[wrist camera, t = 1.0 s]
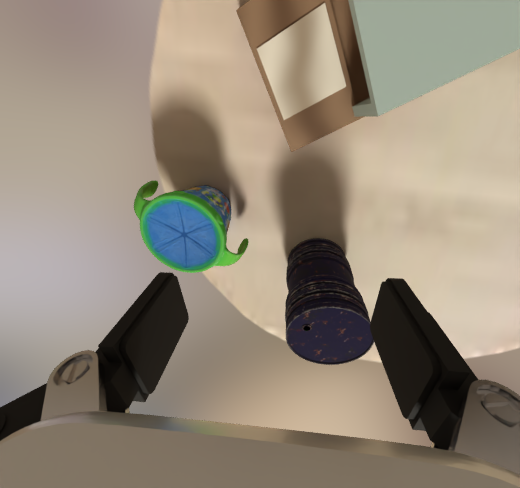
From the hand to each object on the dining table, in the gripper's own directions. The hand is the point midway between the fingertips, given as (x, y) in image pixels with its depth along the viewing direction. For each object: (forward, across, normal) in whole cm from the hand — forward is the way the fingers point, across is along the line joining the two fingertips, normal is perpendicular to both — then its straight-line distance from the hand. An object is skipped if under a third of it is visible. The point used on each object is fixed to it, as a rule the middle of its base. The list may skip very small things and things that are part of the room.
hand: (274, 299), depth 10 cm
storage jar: (+25, -6, +14) cm, 29 cm away
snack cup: (+25, +12, +4) cm, 28 cm away
